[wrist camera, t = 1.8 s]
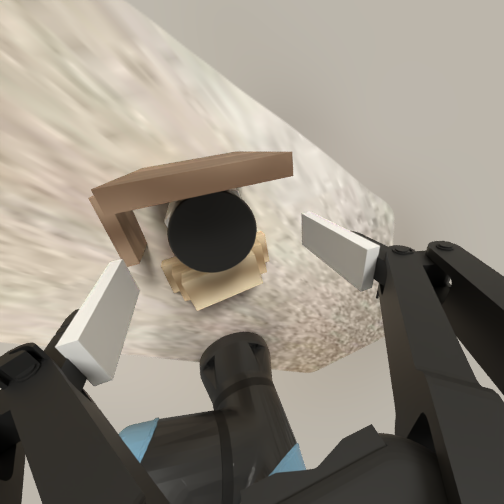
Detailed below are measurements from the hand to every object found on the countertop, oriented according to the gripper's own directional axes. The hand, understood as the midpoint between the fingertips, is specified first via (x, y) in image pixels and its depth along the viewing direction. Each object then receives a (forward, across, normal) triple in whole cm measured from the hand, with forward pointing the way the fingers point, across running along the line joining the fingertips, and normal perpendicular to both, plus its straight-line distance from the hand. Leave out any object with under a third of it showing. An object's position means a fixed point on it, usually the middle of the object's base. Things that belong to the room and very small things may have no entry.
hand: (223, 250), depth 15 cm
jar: (+16, 0, 0) cm, 16 cm away
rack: (+16, +2, -1) cm, 16 cm away
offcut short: (+12, 0, +10) cm, 15 cm away
